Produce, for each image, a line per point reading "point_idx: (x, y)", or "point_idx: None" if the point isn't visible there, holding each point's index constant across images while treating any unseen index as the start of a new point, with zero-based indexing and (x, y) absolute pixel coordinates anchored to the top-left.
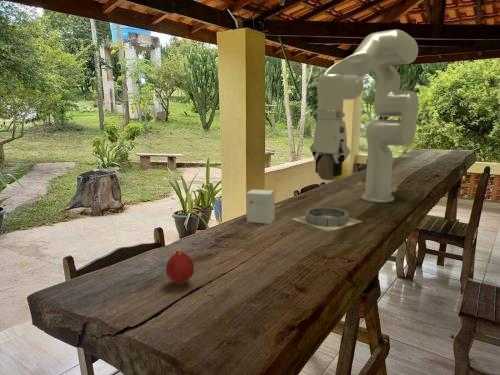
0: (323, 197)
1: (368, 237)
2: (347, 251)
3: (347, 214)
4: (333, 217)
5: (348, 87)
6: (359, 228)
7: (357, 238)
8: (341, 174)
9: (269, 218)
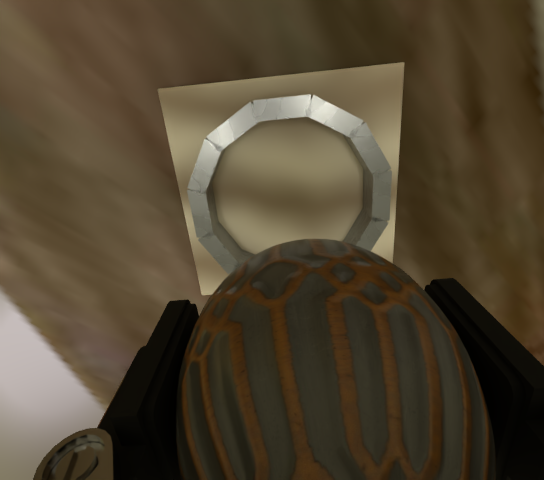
0: None
1: (510, 180)
2: (519, 316)
3: (370, 141)
4: (273, 141)
5: None
6: (426, 128)
7: (484, 221)
8: (451, 278)
9: None
